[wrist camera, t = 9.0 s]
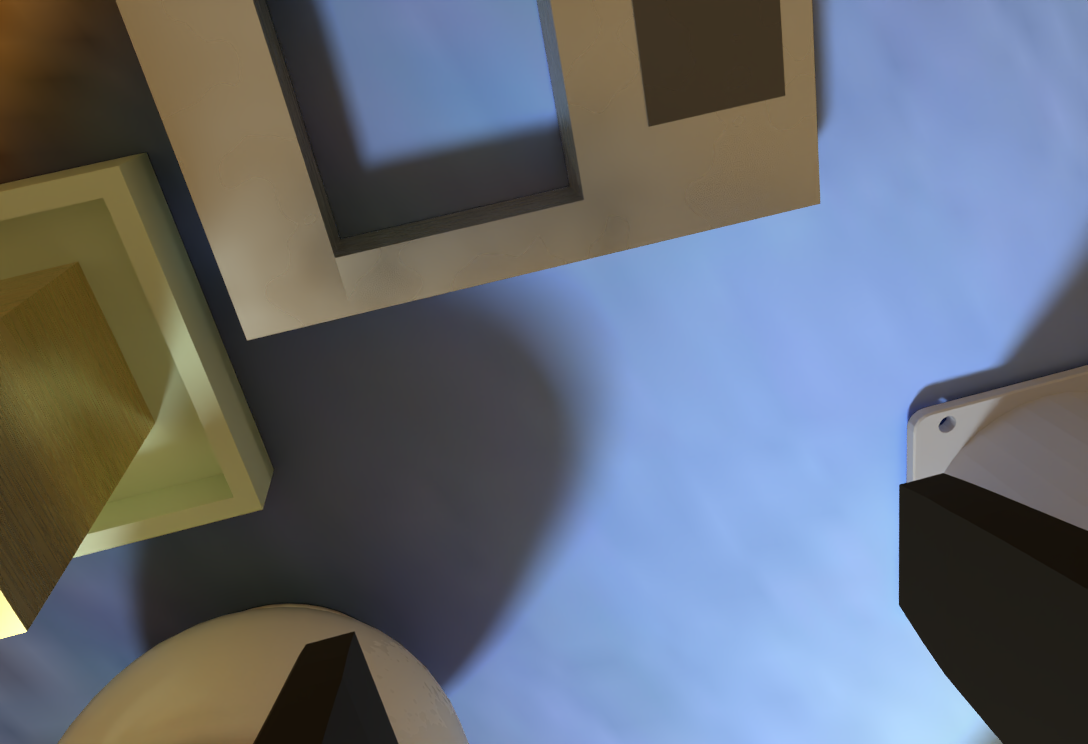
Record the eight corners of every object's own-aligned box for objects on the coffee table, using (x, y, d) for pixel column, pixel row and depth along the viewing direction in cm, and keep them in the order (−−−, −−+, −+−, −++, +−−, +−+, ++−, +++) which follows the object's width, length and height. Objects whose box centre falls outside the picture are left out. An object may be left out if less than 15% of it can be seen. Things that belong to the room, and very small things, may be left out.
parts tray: (146, 152, 16) (118, 165, 15) (273, 469, 20) (262, 509, 18) (-251, 239, 16) (-326, 263, 14) (-50, 551, 19) (-91, 599, 18)
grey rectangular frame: (766, -202, 16) (803, -226, 14) (788, 190, 19) (821, 204, 18) (114, -72, 15) (82, -84, 13) (258, 315, 18) (246, 341, 17)
